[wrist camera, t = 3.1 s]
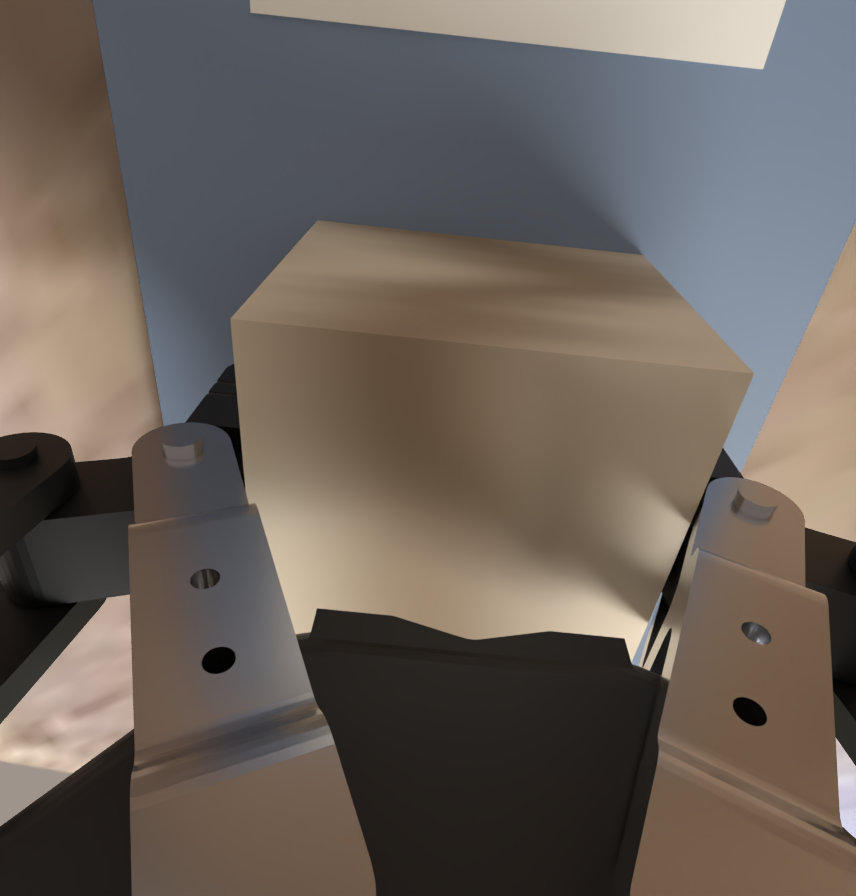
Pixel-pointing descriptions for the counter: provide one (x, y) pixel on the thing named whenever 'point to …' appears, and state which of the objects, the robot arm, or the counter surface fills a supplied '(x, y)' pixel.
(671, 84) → the board
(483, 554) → the maple block
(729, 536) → the robot arm
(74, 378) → the counter surface
